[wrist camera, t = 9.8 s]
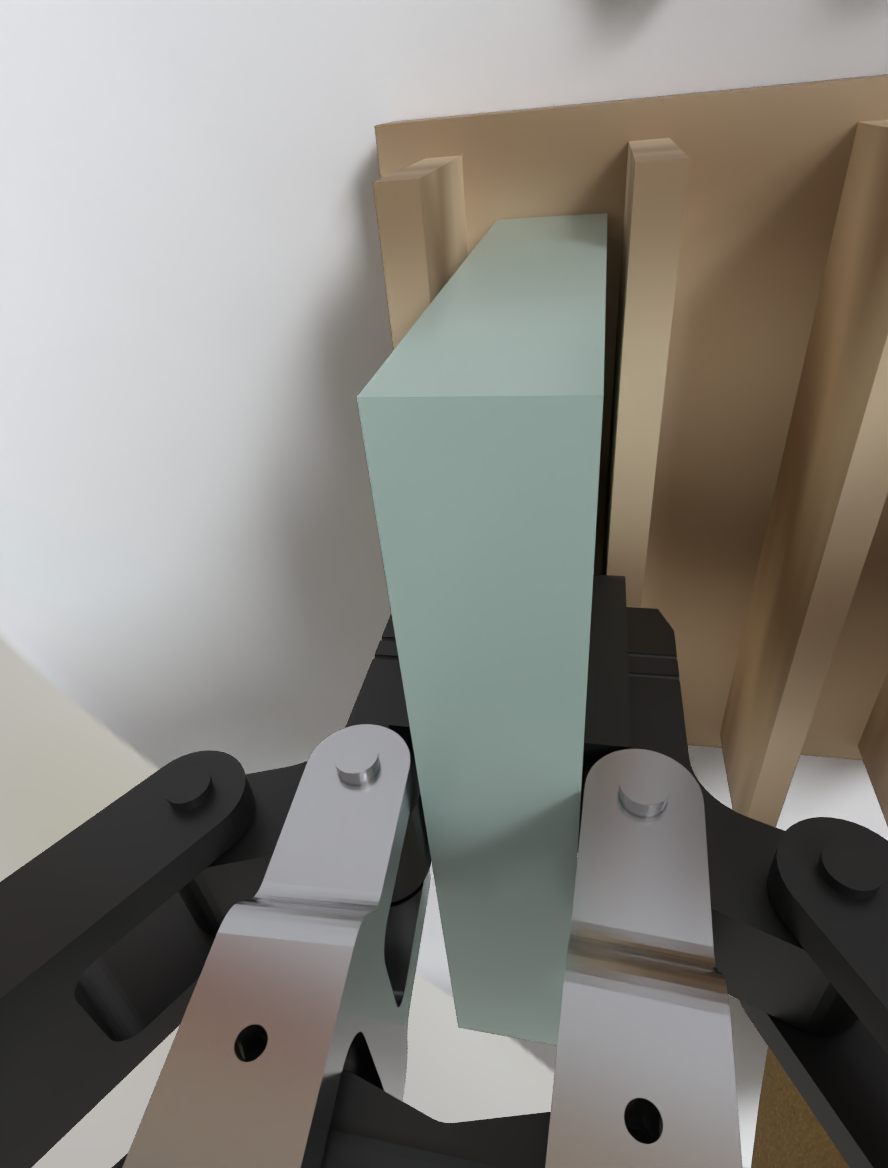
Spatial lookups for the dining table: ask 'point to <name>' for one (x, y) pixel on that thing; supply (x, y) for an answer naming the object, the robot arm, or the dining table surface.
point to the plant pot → (789, 1127)
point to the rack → (713, 381)
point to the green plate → (498, 594)
